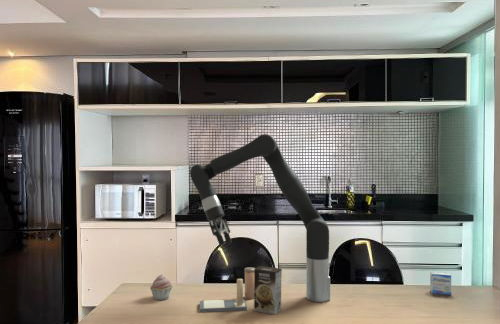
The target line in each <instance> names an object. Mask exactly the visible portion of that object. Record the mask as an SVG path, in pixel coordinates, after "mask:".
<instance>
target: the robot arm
mask: <svg viewBox="0 0 500 324" xmlns="http://www.w3.org/2000/svg"><path fill="white" fill-rule="evenodd" d="M260 157H262V158H263V159H264V161H265V162H266V163H267V165H268V166H269V168H270V170H271V172H272V174H273V178H274V179H275V182H276V185H277V186H278V187H279V189H280V192H281V193H282V195H283V196H284V198H285V199H286V200H287V202H288V203H289V205H290V206H291V207H292V208H293V210H295V211H296V212H297V214H298V216H299V218H300V219H301V221H302V222H303V225H304V227H305V230H306V232H305V233H306V234H305V237H306V241H305V243H306V244H305V245H306V246H305V247H306V251H305V252H306V254H305V255H306V256H305V257H306V258H305V259H306V261H305V262H306V280H305V281H306V285H305V286H306V300H308V301H310V302H316V303H317V302H318V303H323V302H327V301H331V276H329V275H330V274H329V273H330V272H329V271H330V270H329V268H330V265H329V263H330V262H329V261H330V259H329V257H330V255H329V254H330V229H329V226H328V223H327V222H326V221H325V220H324V218H323V217H322V216H321V215H320V213H319V211H318V210H317V209H316V208H315V206H314V205H313V203H312V200H311V198H310V197H309V196H310V195H308V192H307V190H306V188H305V187H304V185H303V183H302V182H301V180H300V178H299V176H298V175H297V174H296V172H295V171H294V169H293V168H292V167H291V165H290V164H289V163H288V161H286V158H285V157H284V156H283V154H282V152H281V150H280V148H279V146H278V143H277V141H276V139H275V138H274V137H273V136H272V135H270V134H268V133H263V134H261V135H259V136H257V137H255V138H254V139H252V140H251V141H250V142H248V143H246V144H244V145H243V146H241V147H238V148H236V149H234V150H232V151H230V152H227V153H224V154H222V155H220V156H217V157H215V158H212V159H211V160H210V162H209V163H208V164H206V165H202V164H194V165H192V167H191V168H190V171H189V176H190V178H191V181H192V183H193V184H194V187H195V188H196V190H197V192H198V194H199V197H200V201H201V205H202V209H203V210H204V214H205V216H206V219H207V221H208V224H209V227H210V231H211V233H212V236H215V237H216V239H217V242H218V245H219V246H222V245H224V244H225V243H226V244H227V245H230V244H231V243H232V242H233V241H232V238H231V236H230V233H231V229H230V227H229V225H228V224H229V223H228V222H227V220H226V219H223V217H224V216H225V213H224V212H225V211H224V210H223V207H222V204H221V201H220V199H219V198H218V195H217V192H216V190H215V188H214V185H213V184H212V183H211V182H210V180H212V179H213V178H215V177H216V176H218V175H220V174H223V173H225V172H228V171H229V170H231V169H234V168H235V167H237V166H240V165H241V164H242V163H243V164H244V163H245V162H247V161H249V160H252V159H256V158H260ZM224 240H225V241H224ZM232 244H233V243H232Z"/></svg>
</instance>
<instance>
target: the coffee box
mask: <svg viewBox="0 0 500 324" xmlns="http://www.w3.org/2000/svg"><path fill="white" fill-rule="evenodd" d="M255 268H256V269H254V270H255V272H254V299H253V303H254V305H253V311H255V312H259V313H264V314H270V315H277V314H278V313H279V312H280V311H281V310H282V276H283V275H282V274H283V273H282V272H283V271H282V268H278V267H271V266H265V265H260V266H258V267H255Z"/></svg>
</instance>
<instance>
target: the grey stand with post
mask: <svg viewBox="0 0 500 324" xmlns="http://www.w3.org/2000/svg"><path fill="white" fill-rule="evenodd" d="M236 311H237V312H239V311H241V312H242V311H248V307H247V304H246V301H245V298H244V279H243V278H236V299H217V300H216V299H212V300H211V299H209V300H200V301H199V313H212V312H213V313H217V312H236Z"/></svg>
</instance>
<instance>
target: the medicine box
mask: <svg viewBox="0 0 500 324" xmlns="http://www.w3.org/2000/svg"><path fill="white" fill-rule="evenodd" d="M429 275H430V276H429V277H430V278H429V279H430V286H429V287H430V292H431V294H433V295H445V296H451V295H452V275H451V273H449V272H435V271H430V274H429Z"/></svg>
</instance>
